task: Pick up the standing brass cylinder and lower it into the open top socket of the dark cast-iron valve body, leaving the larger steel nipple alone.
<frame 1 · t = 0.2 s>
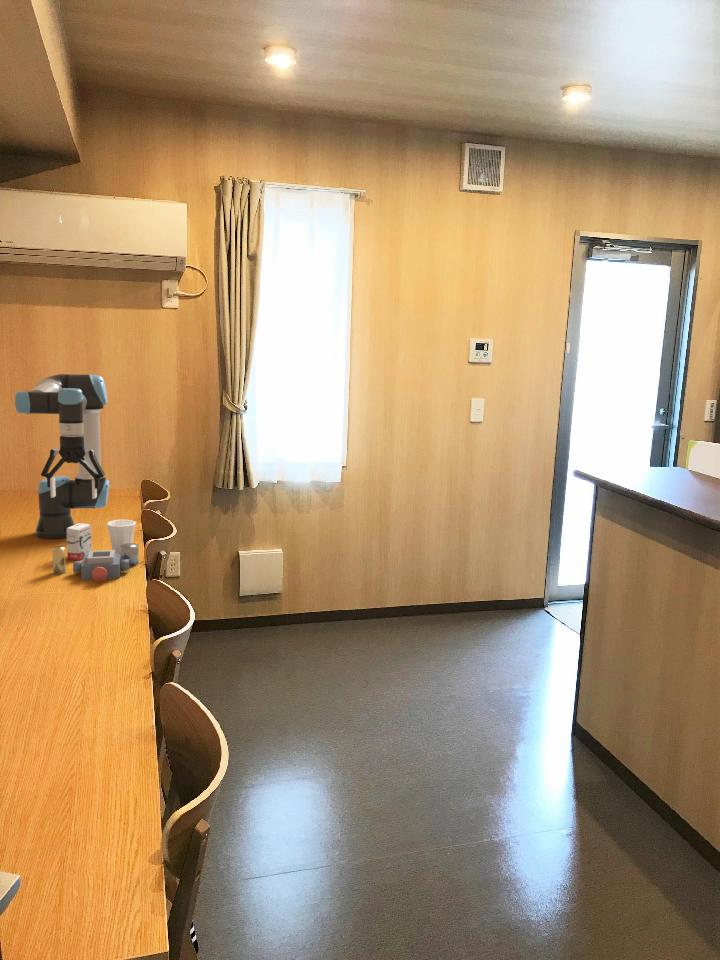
hand: (74, 497, 240), 27 cm above the table, fingers open, 13 cm apart
brass cylinder: (59, 572, 244), on the table
steel nipple large: (130, 564, 256), on the table
cup: (122, 557, 263), on the table
valve body: (101, 573, 245), on the table
ink box: (79, 557, 261), on the table
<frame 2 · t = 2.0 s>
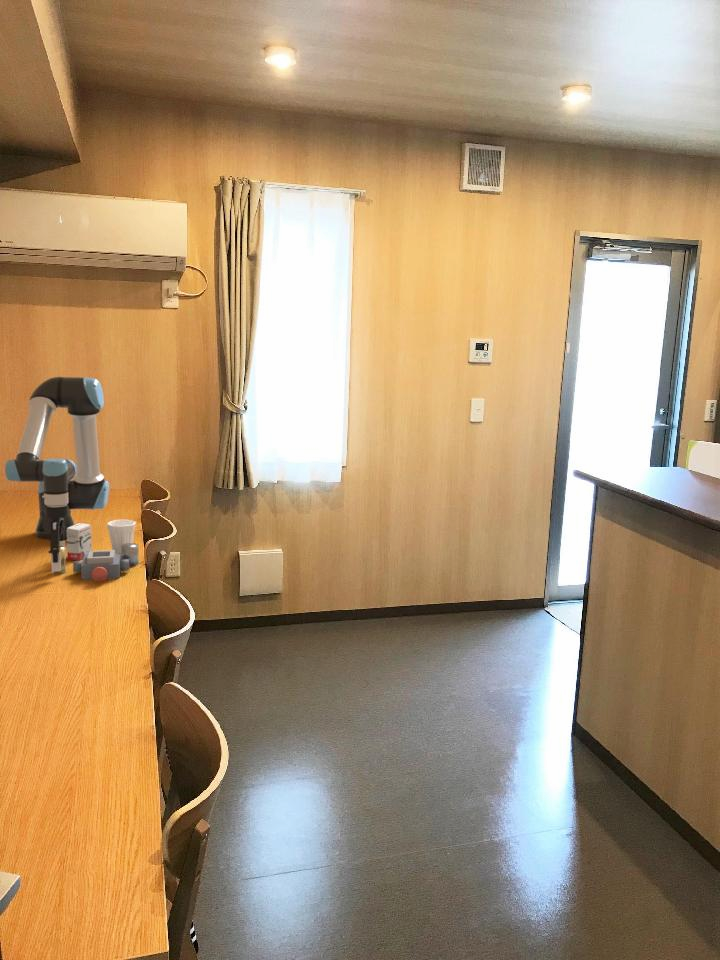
hand: (58, 565, 243), 3 cm above the table, fingers open, 13 cm apart
nothing on the table moved.
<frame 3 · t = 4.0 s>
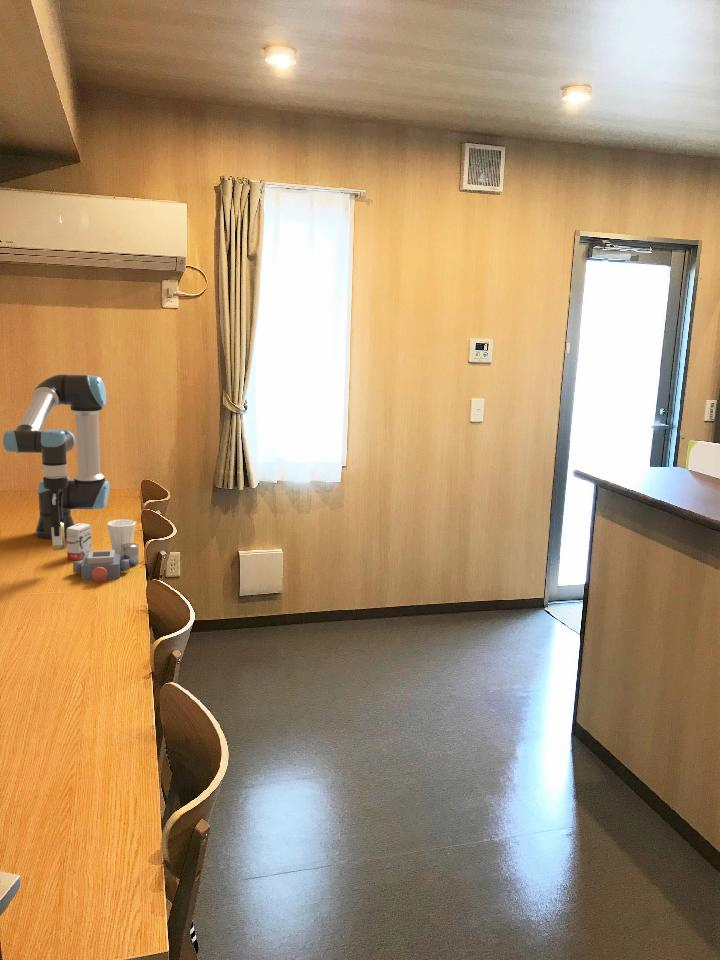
hand: (58, 542, 242), 11 cm above the table, fingers closed on brass cylinder, 4 cm apart
brass cylinder: (58, 548, 243), point 9 cm above the table, touching gripper
everything else where it was.
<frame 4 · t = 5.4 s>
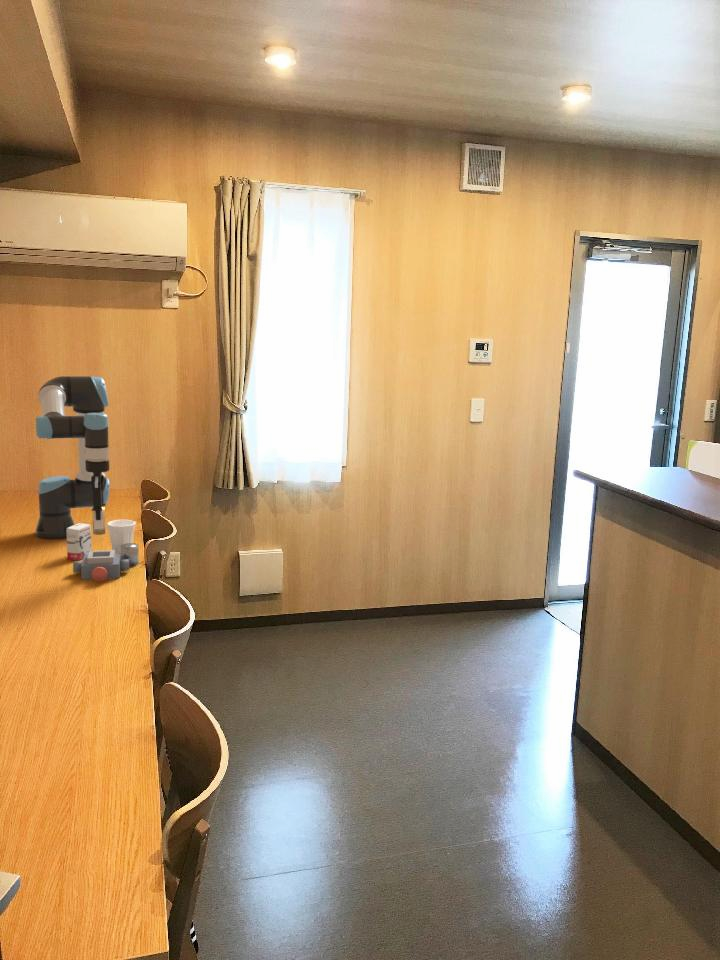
hand: (99, 526, 241), 17 cm above the table, fingers closed on brass cylinder, 4 cm apart
brass cylinder: (99, 533, 242), point 15 cm above the table, touching gripper
everything else where it was.
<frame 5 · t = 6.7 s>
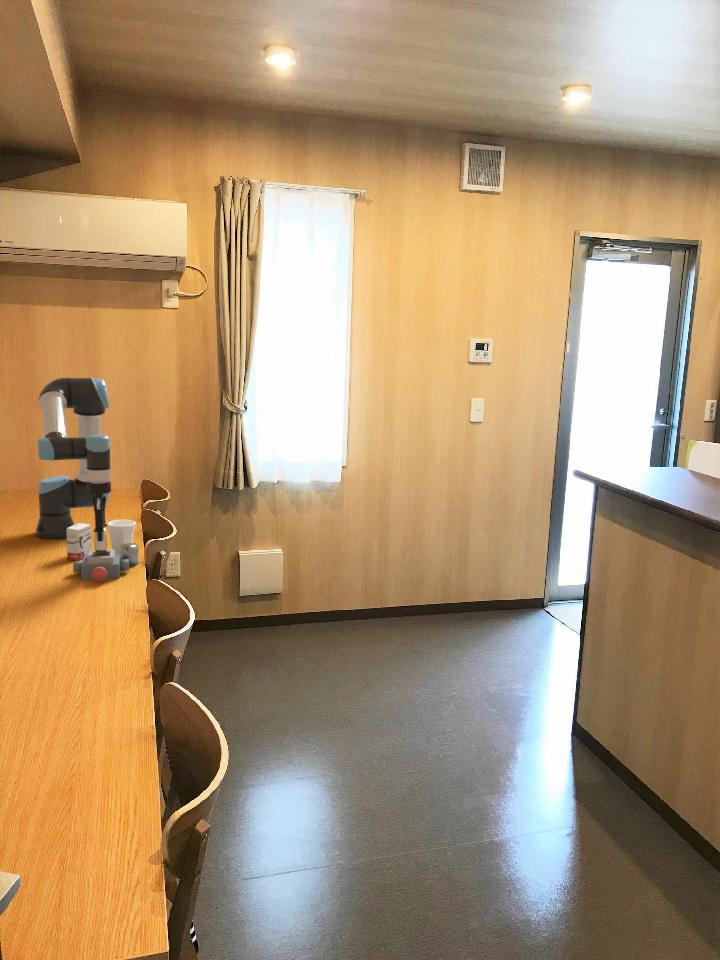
hand: (101, 547, 243), 9 cm above the table, fingers closed on brass cylinder, 4 cm apart
brass cylinder: (101, 553, 243), point 7 cm above the table, touching gripper
everything else where it was.
when the fingers open (8 cm above the table, at t = 7.3 s): brass cylinder drops 4 cm, resting on valve body.
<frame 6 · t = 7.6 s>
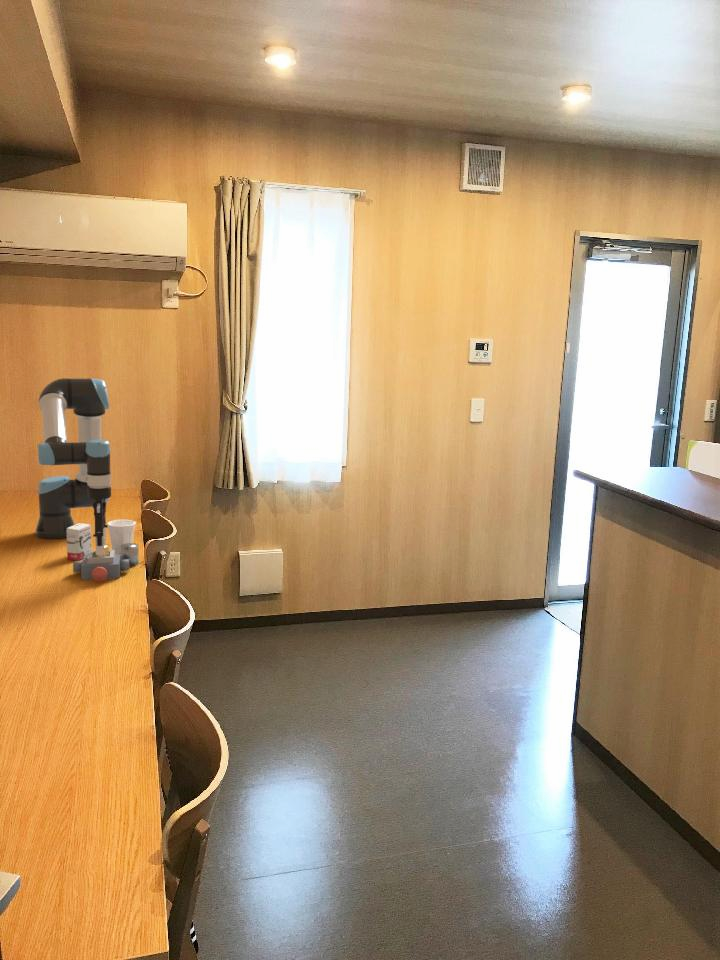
hand: (101, 550, 243), 8 cm above the table, fingers open, 8 cm apart
brass cylinder: (101, 569, 245), point 1 cm above the table, tilted 7°, touching valve body
everything else where it was.
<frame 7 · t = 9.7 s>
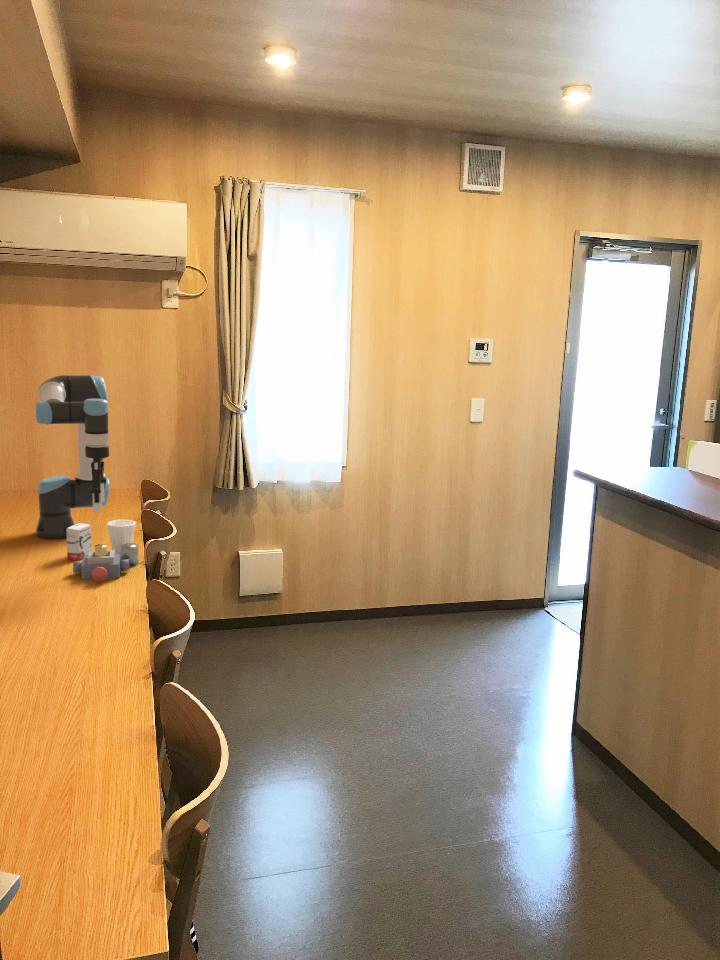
hand: (98, 506, 242), 23 cm above the table, fingers open, 13 cm apart
brass cylinder: (101, 570, 245), point 1 cm above the table, touching valve body
everything else where it was.
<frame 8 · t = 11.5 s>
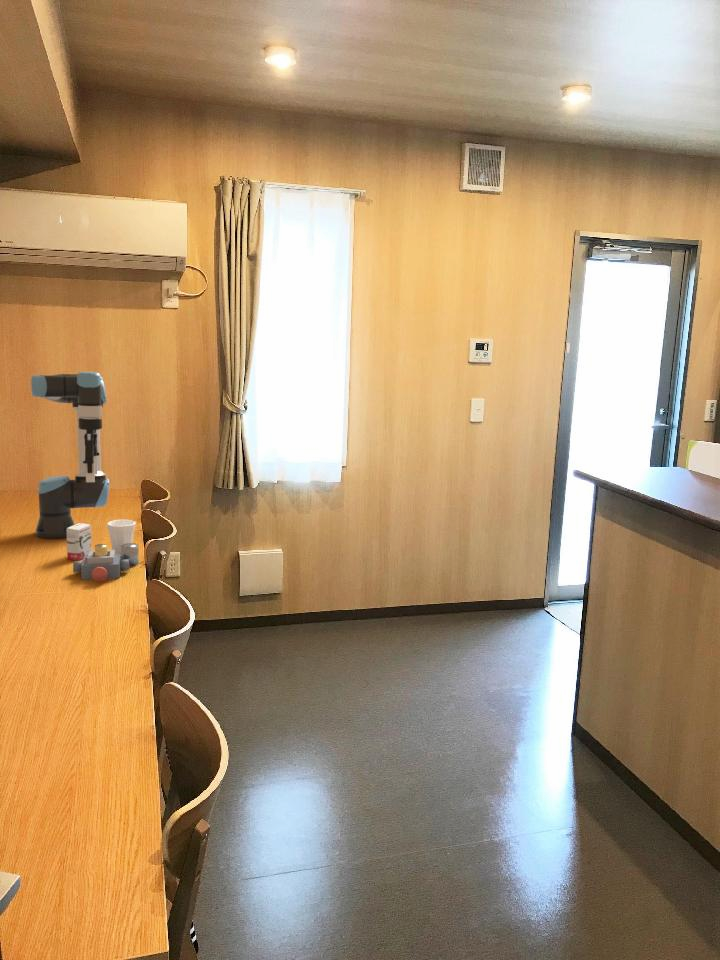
hand: (92, 478, 247), 32 cm above the table, fingers open, 13 cm apart
nothing on the table moved.
at the end: brass cylinder 0.1 cm off-centre on the valve body, point 1.0 cm above the valve body's base; brass cylinder tilted 0°; the gripper is holding nothing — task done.
